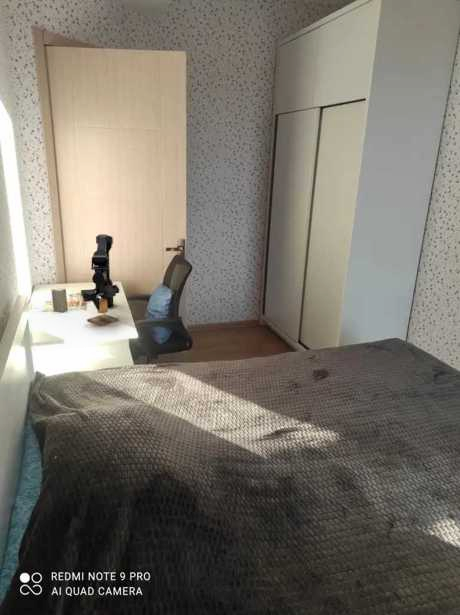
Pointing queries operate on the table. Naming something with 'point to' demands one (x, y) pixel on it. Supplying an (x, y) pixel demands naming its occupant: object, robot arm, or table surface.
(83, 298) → the smart home device
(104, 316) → the walnut pad
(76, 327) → the table surface
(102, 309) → the orange cylinder
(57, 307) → the skincare box
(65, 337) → the table surface
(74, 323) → the table surface
